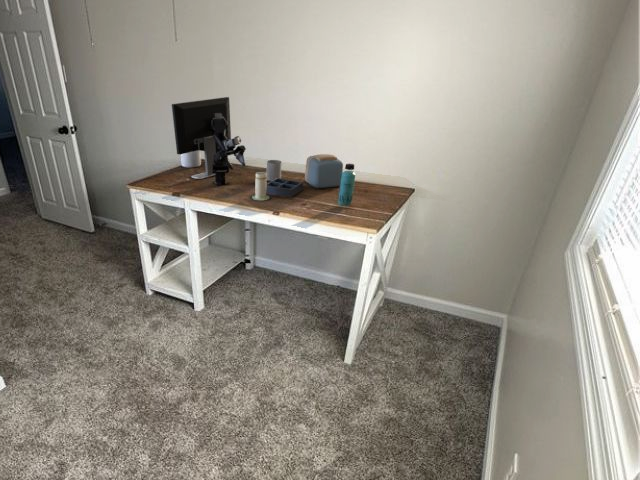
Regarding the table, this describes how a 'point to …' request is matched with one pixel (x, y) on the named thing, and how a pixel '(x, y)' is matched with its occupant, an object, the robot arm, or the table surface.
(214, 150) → the computer monitor
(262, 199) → the coaster
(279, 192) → the organizer
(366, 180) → the table surface
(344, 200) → the beverage bottle
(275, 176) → the cup
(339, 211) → the table surface
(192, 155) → the cylinder vase
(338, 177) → the blue rounded cube
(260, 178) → the pen pot
